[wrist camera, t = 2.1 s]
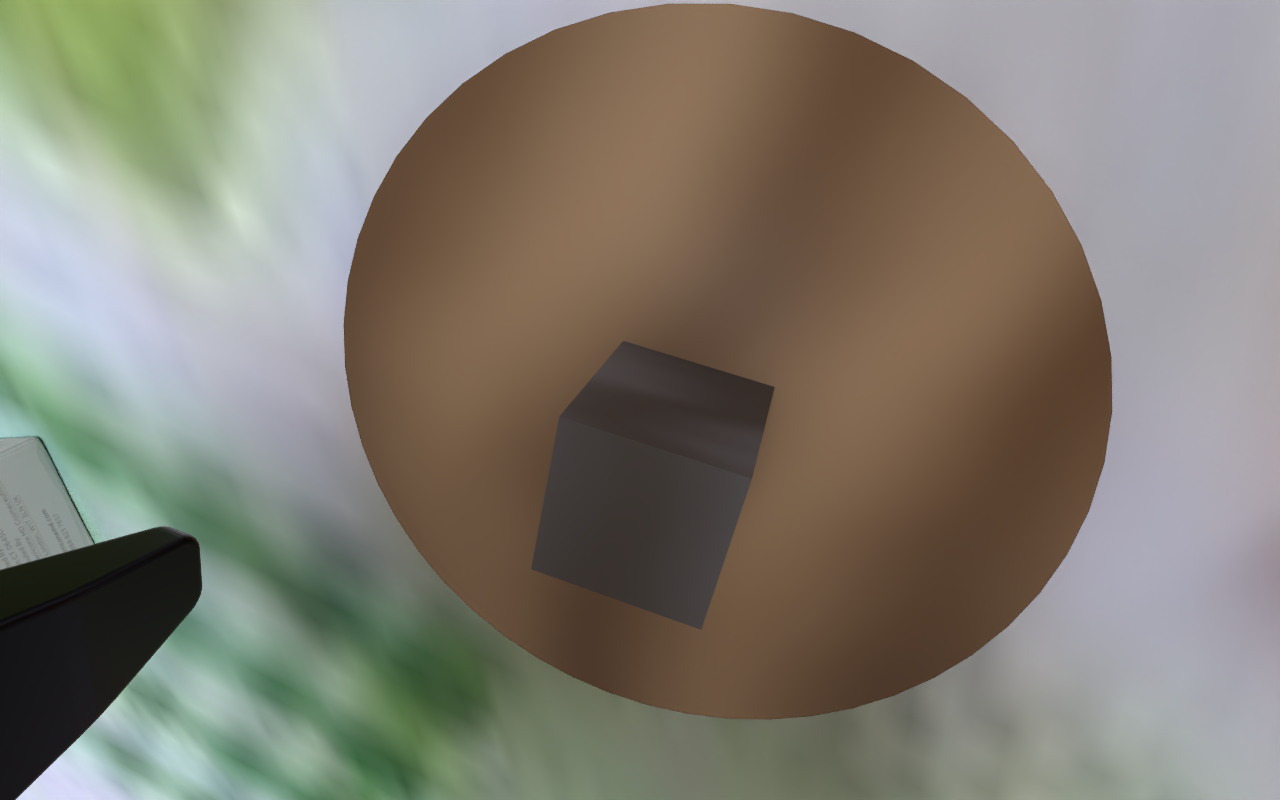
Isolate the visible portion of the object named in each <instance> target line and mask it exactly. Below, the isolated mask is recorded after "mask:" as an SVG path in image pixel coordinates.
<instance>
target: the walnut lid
mask: <svg viewBox="0 0 1280 800" xmlns="http://www.w3.org/2000/svg"><path fill="white" fill-rule="evenodd" d="M344 346H345V368H346V374H347V381H348V387H349V393H350V400H351V406H352V410H353V413H354V417H355V421H356V424H357V428H358V431H359V435H360V438H361V442H362V446H363V448H364V451H365V453H366V456H367V458H368V460H369V463H370V465H371V468H372V470H373V473H374V475H375V478H376V480H377V483H378V485H379V487H380V488H381V490H382V492H383V494H384V496H385V498H386V500H387V501H388V503H389V505H390V507H391V509H392V511H393V513H394V515H395V516H396V518H397V520H398V521H399V523H400V524H401V526H402V527H403V529H404V530H405V532H406V533H407V535H408V536H409V538H410V539H411V540H412V542H413V543H414V545H415V546H416V548H417V549H418V551H419V552H420V553H421V555H422V556H423V557H424V558H425V559H426V561H427V562H428V563H429V564H430V565H431V567H432V568H433V569H434V570H435V571H436V573H437V574H438V575H439V576H440V577H441V579H442V580H443V581H444V582H445V583H446V584H447V585H448V586H449V587H450V588H451V589H452V590H453V591H454V592H455V593H456V594H457V595H458V596H459V597H460V598H461V599H462V600H463V601H464V602H465V603H466V604H467V605H468V606H469V607H470V608H471V609H472V610H473V611H475V612H476V613H477V614H478V615H479V616H481V617H482V618H483V619H484V620H486V621H487V622H488V623H489V624H490V625H492V626H493V627H494V628H495V629H497V630H498V631H499V632H500V633H501V634H503V635H504V636H506V637H507V638H509V639H510V640H512V641H513V642H514V643H516V644H517V645H519V646H520V647H522V648H523V649H525V650H526V651H528V652H529V653H531V654H532V655H534V656H535V657H537V658H539V659H541V660H542V661H544V662H546V663H548V664H550V665H552V666H553V667H555V668H557V669H559V670H561V671H563V672H564V673H566V674H568V675H570V676H572V677H574V678H577V679H579V680H581V681H584V682H586V683H588V684H591V685H593V686H595V687H598V688H600V689H602V690H604V691H607V692H609V693H612V694H616V695H619V696H622V697H625V698H628V699H631V700H634V701H637V702H640V703H643V704H646V705H651V706H655V707H660V708H664V709H669V710H673V711H678V712H682V713H687V714H695V715H703V716H711V717H720V718H729V719H781V718H793V717H806V716H814V715H819V714H825V713H830V712H835V711H840V710H846V709H851V708H855V707H858V706H861V705H865V704H868V703H871V702H874V701H878V700H881V699H884V698H887V697H891V696H894V695H896V694H898V693H901V692H903V691H905V690H907V689H910V688H912V687H914V686H916V685H919V684H921V683H923V682H926V681H928V680H930V679H932V678H934V677H936V676H938V675H939V674H941V673H943V672H944V671H946V670H948V669H949V668H951V667H953V666H954V665H956V664H958V663H959V662H961V661H963V660H964V659H966V658H968V657H969V656H971V655H973V654H974V653H975V652H976V651H978V650H979V649H980V648H981V647H983V646H984V645H985V644H986V643H988V642H989V641H990V640H991V639H993V638H994V637H995V636H997V635H998V634H999V633H1000V632H1002V631H1003V630H1004V629H1005V628H1007V627H1008V626H1009V625H1010V624H1011V623H1012V622H1013V620H1014V619H1015V618H1016V617H1017V616H1018V615H1019V614H1020V613H1021V612H1022V611H1023V610H1024V609H1025V608H1026V607H1027V606H1028V605H1029V604H1030V603H1031V602H1032V601H1033V600H1034V598H1035V597H1036V596H1037V595H1038V594H1039V593H1040V592H1041V590H1042V589H1043V588H1044V586H1045V585H1046V583H1047V582H1048V581H1049V579H1050V578H1051V576H1052V575H1053V574H1054V572H1055V571H1056V569H1057V568H1058V566H1059V565H1060V564H1061V562H1062V561H1063V559H1064V558H1065V557H1066V555H1067V553H1068V552H1069V550H1070V548H1071V546H1072V544H1073V542H1074V540H1075V538H1076V536H1077V534H1078V532H1079V530H1080V528H1081V526H1082V524H1083V522H1084V520H1085V518H1086V516H1087V514H1088V512H1089V509H1090V506H1091V503H1092V500H1093V497H1094V493H1095V490H1096V487H1097V484H1098V481H1099V478H1100V475H1101V471H1102V468H1103V465H1104V461H1105V455H1106V448H1107V441H1108V435H1109V428H1110V421H1111V414H1112V374H1111V352H1110V347H1109V341H1108V336H1107V330H1106V325H1105V319H1104V313H1103V308H1102V302H1101V299H1100V296H1099V293H1098V290H1097V287H1096V285H1095V282H1094V279H1093V276H1092V273H1091V271H1090V268H1089V265H1088V262H1087V259H1086V256H1085V254H1084V251H1083V248H1082V245H1081V243H1080V242H1079V240H1078V238H1077V236H1076V234H1075V232H1074V231H1073V229H1072V227H1071V225H1070V223H1069V221H1068V220H1067V218H1066V216H1065V214H1064V212H1063V211H1062V209H1061V207H1060V205H1059V203H1058V201H1057V200H1056V198H1055V196H1054V194H1053V192H1052V191H1051V190H1050V188H1049V187H1048V186H1047V184H1046V183H1045V182H1044V181H1043V179H1042V178H1041V177H1040V175H1039V174H1038V173H1037V171H1036V170H1035V169H1034V168H1033V166H1032V165H1031V164H1030V162H1029V161H1028V160H1027V159H1026V157H1025V156H1024V155H1023V153H1022V152H1021V151H1020V150H1019V148H1018V147H1017V146H1016V144H1015V143H1014V142H1013V141H1012V140H1011V139H1010V138H1009V137H1008V136H1007V135H1006V134H1005V133H1004V132H1002V131H1001V130H1000V129H999V128H998V127H997V126H996V125H995V124H994V123H993V122H992V121H991V120H990V119H989V118H988V117H987V116H985V115H984V114H983V113H982V112H981V111H980V110H979V109H978V108H977V107H976V106H975V105H974V104H973V103H972V102H971V101H970V100H969V99H967V98H966V97H965V96H963V95H962V94H960V93H959V92H957V91H956V90H955V89H953V88H952V87H950V86H949V85H947V84H946V83H944V82H943V81H941V80H940V79H939V78H937V77H936V76H934V75H933V74H931V73H930V72H928V71H927V70H926V69H924V68H923V67H921V66H920V65H918V64H917V63H915V62H914V61H912V60H910V59H908V58H906V57H904V56H902V55H900V54H898V53H896V52H893V51H891V50H889V49H887V48H885V47H883V46H881V45H879V44H877V43H875V42H873V41H871V40H869V39H867V38H865V37H863V36H861V35H858V34H856V33H854V32H851V31H848V30H844V29H841V28H838V27H835V26H832V25H828V24H825V23H822V22H819V21H815V20H812V19H809V18H806V17H803V16H799V15H796V14H793V13H786V12H780V11H773V10H767V9H760V8H754V7H747V6H741V5H734V4H664V5H658V6H651V7H644V8H638V9H631V10H624V11H618V12H611V13H607V14H604V15H601V16H598V17H594V18H591V19H588V20H585V21H581V22H578V23H575V24H572V25H569V26H565V27H562V28H559V29H556V30H553V31H551V32H549V33H547V34H545V35H543V36H541V37H539V38H537V39H535V40H533V41H531V42H529V43H527V44H525V45H523V46H521V47H519V48H517V49H514V50H512V51H510V52H508V53H506V54H505V55H503V56H502V57H500V58H499V59H497V60H496V61H495V62H493V63H492V64H490V65H489V66H487V67H486V68H485V69H483V70H482V71H480V72H479V73H477V74H476V75H474V76H473V77H472V78H470V79H469V80H467V81H466V82H464V83H463V84H462V85H461V86H460V87H459V88H458V89H457V90H455V91H454V92H453V93H452V94H451V95H450V96H449V97H448V98H447V99H446V100H445V101H444V102H443V103H442V104H441V105H440V106H439V107H438V108H437V109H435V110H434V111H433V112H432V113H431V114H430V115H429V116H428V117H427V118H426V119H425V121H424V122H423V123H422V124H421V126H420V127H419V128H418V130H417V131H416V132H415V133H414V135H413V136H412V137H411V139H410V140H409V141H408V142H407V144H406V145H405V146H404V148H403V149H402V150H401V151H400V153H399V154H398V155H397V157H396V158H395V160H394V162H393V164H392V166H391V167H390V169H389V171H388V173H387V174H386V176H385V178H384V180H383V182H382V183H381V185H380V187H379V189H378V190H377V192H376V194H375V196H374V198H373V201H372V203H371V206H370V208H369V211H368V213H367V216H366V219H365V221H364V224H363V226H362V229H361V232H360V234H359V237H358V240H357V244H356V248H355V253H354V257H353V261H352V266H351V270H350V274H349V278H348V285H347V295H346V306H345V316H344Z"/></svg>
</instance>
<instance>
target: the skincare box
mask: <svg viewBox="0 0 1280 800" xmlns="http://www.w3.org/2000/svg"><path fill="white" fill-rule="evenodd" d="M93 544H94V543H93V541H92V539H91V537H90V535H89V534H88V532H87V530H86V528H85V526H84V524H83V523H82V521H81V519H80V517H79V515H78V513H77V511H76V509H75V507H74V505H73V503H72V501H71V499H70V497H69V495H68V493H67V491H66V489H65V487H64V485H63V483H62V481H61V479H60V477H59V475H58V473H57V471H56V469H55V467H54V465H53V463H52V461H51V459H50V457H49V455H48V453H47V451H46V450H45V448H44V446H43V444H42V443H41V441H40V440H39V439H38V438H36V437H23V438H1V439H0V570H1V569H5V568H8V567H12V566H16V565H19V564H23V563H27V562H31V561H34V560H38V559H42V558H45V557H49V556H53V555H56V554H60V553H64V552H67V551H71V550H75V549H78V548H82V547H86V546H89V545H93Z"/></svg>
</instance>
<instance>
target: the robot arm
mask: <svg viewBox="0 0 1280 800" xmlns="http://www.w3.org/2000/svg"><path fill="white" fill-rule="evenodd" d="M201 591H202V575H201V560H200V547H199V543H198V541H197V540H196V538H195V537H193V536H191V535H189V534H186V533H184V532H181V531H179V530H176V529H174V528H171V527H165V526H163V527H156V528H152V529H148V530H145V531H141V532H137V533H134V534H130V535H126V536H123V537H119V538H115V539H111V540H108V541H104V542H100V543H97V544H93V545H89V546H86V547H82V548H78V549H75V550H71V551H67V552H64V553H60V554H56V555H53V556H49V557H45V558H42V559H38V560H34V561H31V562H27V563H23V564H19V565H16V566H12V567H8V568H5V569H1V570H0V800H16V799H17V798H18V797H19V796H20V795H21V794H22V793H23V792H24V791H25V790H26V789H27V788H28V787H29V786H30V785H31V784H32V783H33V782H34V781H35V780H36V779H37V778H38V777H39V776H40V775H41V774H42V773H43V772H44V771H45V770H46V769H47V768H48V767H49V766H50V765H51V764H52V763H53V762H54V761H55V760H56V759H57V758H59V757H60V756H61V755H62V754H63V753H64V752H65V751H66V750H67V749H68V748H69V747H70V746H71V745H72V744H73V743H74V742H75V741H76V740H77V739H78V738H79V737H80V736H81V735H82V734H83V733H84V732H85V731H86V730H87V729H88V728H89V727H90V726H91V725H92V724H93V723H94V722H95V721H96V720H97V719H98V718H99V717H100V715H101V714H102V713H103V712H104V711H105V710H106V709H107V708H108V707H109V706H110V704H111V703H112V702H113V701H114V700H115V699H116V698H117V697H118V696H119V694H120V693H121V692H122V691H123V690H124V689H125V687H126V686H127V685H128V684H129V683H130V682H131V680H132V679H133V678H134V677H135V676H136V675H137V673H138V672H139V671H140V670H141V669H142V668H143V666H144V665H145V664H146V663H147V662H148V661H149V659H150V658H151V657H152V656H153V655H154V654H155V652H156V651H157V650H158V649H159V648H160V647H161V645H162V644H163V643H164V642H165V641H166V640H167V638H168V637H169V636H170V635H171V634H172V633H173V631H174V630H175V629H176V628H177V627H178V626H179V624H180V623H181V622H182V621H183V620H184V619H185V617H186V616H187V615H188V614H189V613H190V612H191V610H192V609H193V608H194V606H195V605H196V603H197V601H198V599H199V597H200V595H201Z"/></svg>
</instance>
